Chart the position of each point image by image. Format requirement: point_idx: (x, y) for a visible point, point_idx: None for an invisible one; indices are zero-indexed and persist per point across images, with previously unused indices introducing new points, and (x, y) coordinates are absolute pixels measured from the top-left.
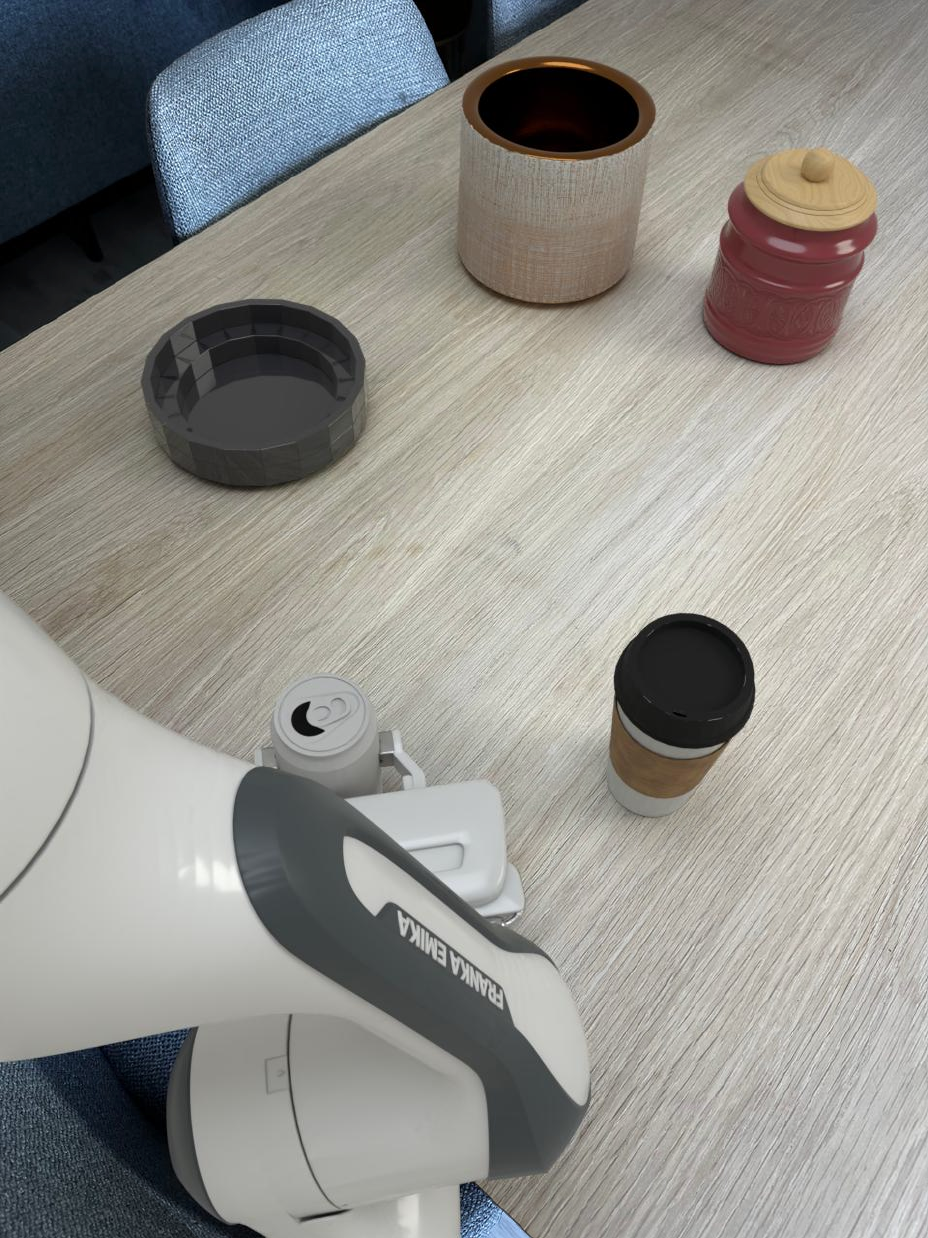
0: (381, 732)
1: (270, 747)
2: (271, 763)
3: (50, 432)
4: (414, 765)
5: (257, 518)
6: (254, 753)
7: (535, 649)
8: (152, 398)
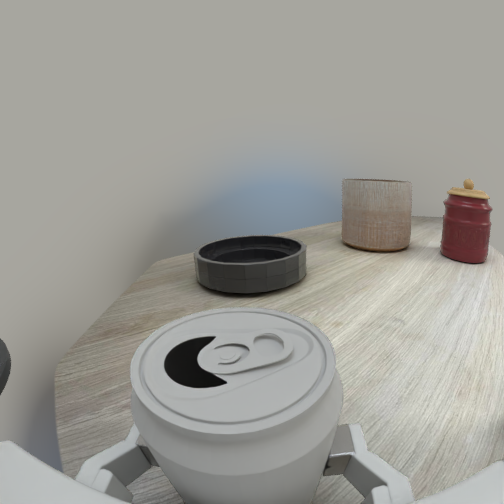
0: None
1: None
2: None
3: (155, 276)
4: (391, 469)
5: None
6: None
7: (435, 373)
8: (197, 252)
